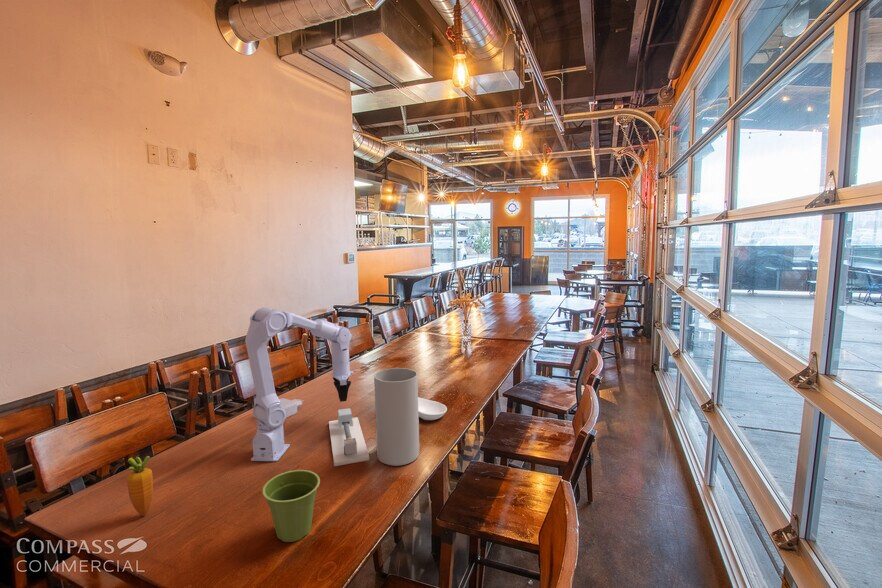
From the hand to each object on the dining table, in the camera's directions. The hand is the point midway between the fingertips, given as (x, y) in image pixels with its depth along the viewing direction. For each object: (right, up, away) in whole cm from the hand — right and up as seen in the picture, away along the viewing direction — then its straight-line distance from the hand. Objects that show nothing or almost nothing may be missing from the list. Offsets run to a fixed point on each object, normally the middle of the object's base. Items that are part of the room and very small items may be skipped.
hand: (342, 398), depth 144 cm
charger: (-24, -9, +12) cm, 28 cm away
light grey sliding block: (+2, -7, -6) cm, 10 cm away
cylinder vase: (+21, -12, -20) cm, 32 cm away
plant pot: (+2, -17, -52) cm, 55 cm away
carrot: (-36, -16, -46) cm, 61 cm away
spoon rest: (+25, -9, +8) cm, 27 cm away
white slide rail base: (+4, -11, -11) cm, 16 cm away
